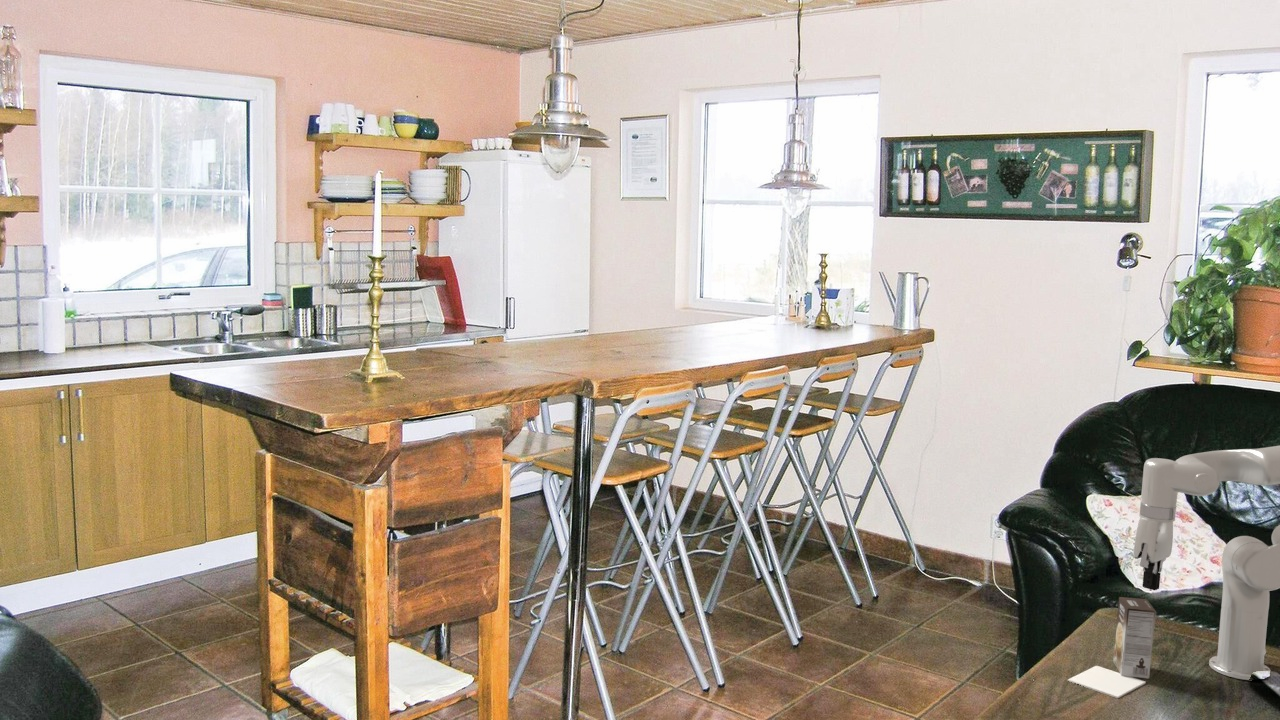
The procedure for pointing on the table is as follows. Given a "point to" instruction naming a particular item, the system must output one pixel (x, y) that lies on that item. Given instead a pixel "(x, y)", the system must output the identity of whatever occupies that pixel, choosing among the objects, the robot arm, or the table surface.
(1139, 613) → the coffee box
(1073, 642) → the table surface
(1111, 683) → the mat
